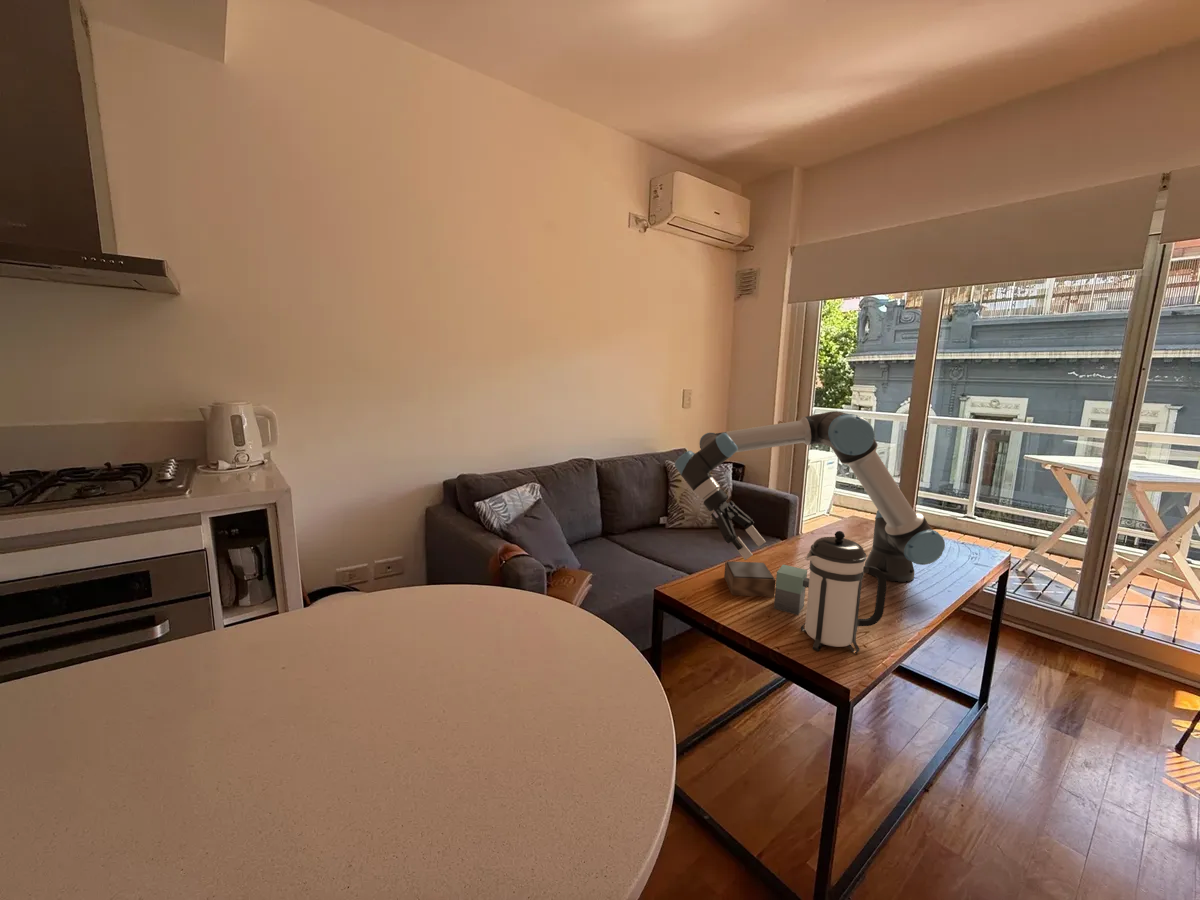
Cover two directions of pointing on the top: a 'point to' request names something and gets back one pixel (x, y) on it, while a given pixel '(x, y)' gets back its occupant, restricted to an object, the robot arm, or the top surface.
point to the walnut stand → (749, 579)
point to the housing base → (789, 601)
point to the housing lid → (792, 579)
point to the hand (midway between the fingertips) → (756, 550)
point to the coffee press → (838, 592)
